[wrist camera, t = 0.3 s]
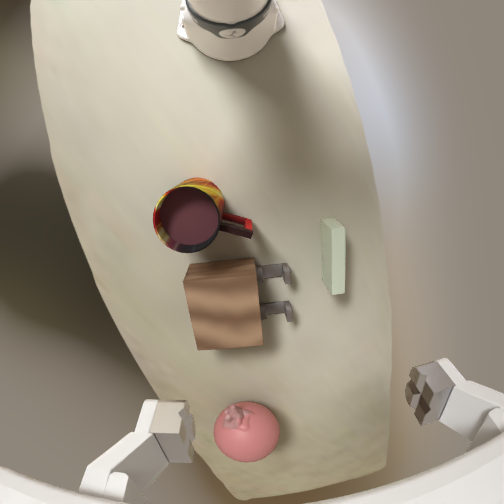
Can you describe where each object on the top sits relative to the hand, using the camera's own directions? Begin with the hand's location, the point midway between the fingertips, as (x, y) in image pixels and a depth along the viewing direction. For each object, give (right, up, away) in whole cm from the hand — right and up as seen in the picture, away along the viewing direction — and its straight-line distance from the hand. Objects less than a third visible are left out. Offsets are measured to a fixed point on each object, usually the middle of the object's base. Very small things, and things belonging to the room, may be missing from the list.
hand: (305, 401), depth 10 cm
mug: (-9, +14, +44) cm, 47 cm away
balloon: (-4, -32, +60) cm, 69 cm away
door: (+12, +6, +48) cm, 50 cm away
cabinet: (-4, -3, +50) cm, 50 cm away
